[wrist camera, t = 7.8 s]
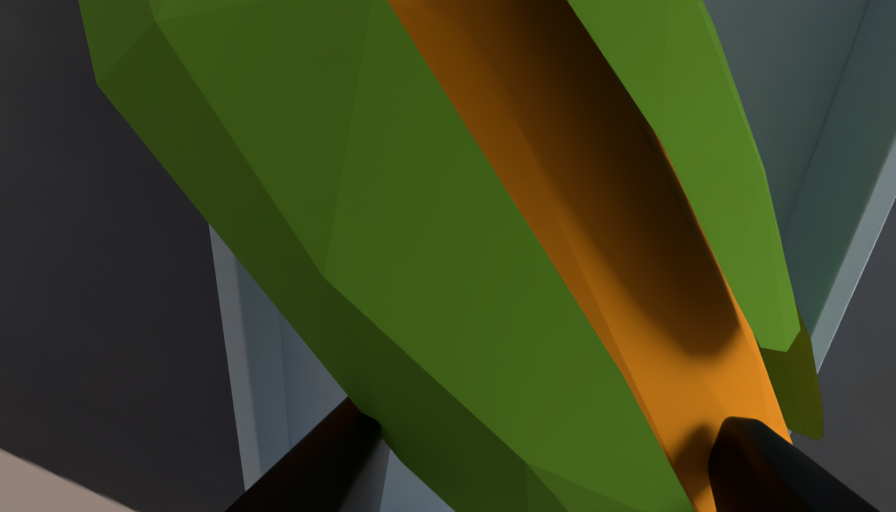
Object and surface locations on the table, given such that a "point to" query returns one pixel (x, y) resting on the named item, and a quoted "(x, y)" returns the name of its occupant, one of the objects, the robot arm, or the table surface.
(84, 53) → the table surface
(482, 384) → the corn
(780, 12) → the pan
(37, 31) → the table surface
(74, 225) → the table surface
